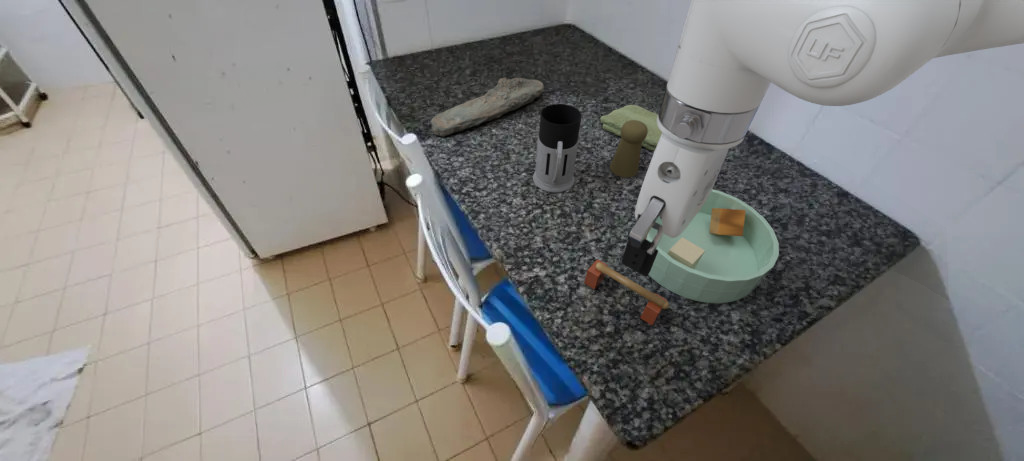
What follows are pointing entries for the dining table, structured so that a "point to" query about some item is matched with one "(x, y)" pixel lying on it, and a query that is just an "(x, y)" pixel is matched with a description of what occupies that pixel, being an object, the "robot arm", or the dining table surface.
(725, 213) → the amber block
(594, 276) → the red blocks
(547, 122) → the glass holder
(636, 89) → the dining table surface
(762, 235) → the bowl
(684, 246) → the cream block
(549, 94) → the dining table surface
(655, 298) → the tan wooden rod
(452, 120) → the elongated grey stone
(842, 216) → the dining table surface
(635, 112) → the washcloth
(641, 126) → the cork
